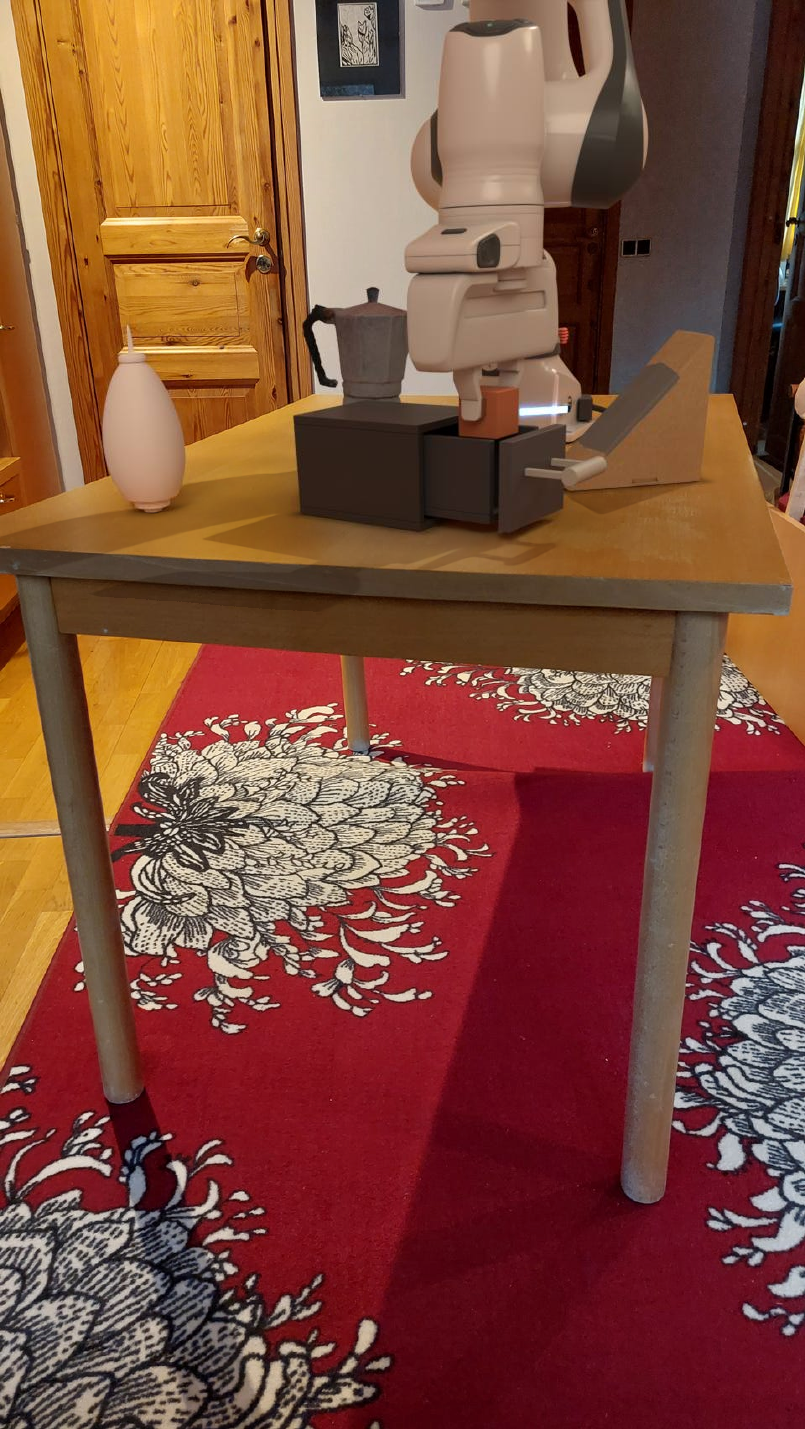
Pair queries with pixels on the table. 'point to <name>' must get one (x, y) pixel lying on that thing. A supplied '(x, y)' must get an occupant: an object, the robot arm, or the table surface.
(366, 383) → the moka pot
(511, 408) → the block
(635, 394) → the sandwich container
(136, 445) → the air blower bulb
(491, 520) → the sliding drawer unit
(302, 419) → the dark drawer cabinet
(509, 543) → the table surface
